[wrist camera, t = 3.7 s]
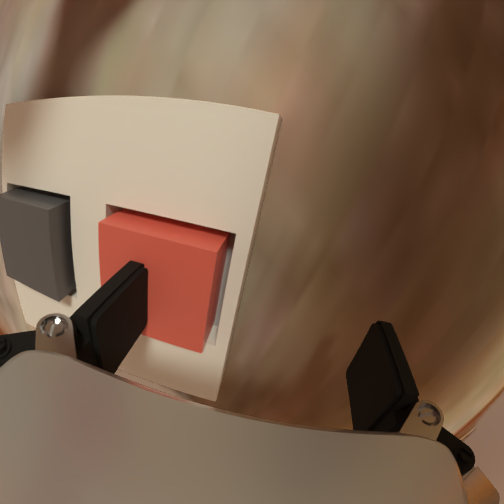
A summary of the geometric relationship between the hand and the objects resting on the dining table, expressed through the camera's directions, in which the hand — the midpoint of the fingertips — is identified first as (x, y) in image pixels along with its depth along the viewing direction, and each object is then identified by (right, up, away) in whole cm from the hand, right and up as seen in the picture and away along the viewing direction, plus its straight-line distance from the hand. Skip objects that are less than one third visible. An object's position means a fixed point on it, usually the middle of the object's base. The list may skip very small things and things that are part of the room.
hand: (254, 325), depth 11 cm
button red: (-4, +2, +2) cm, 5 cm away
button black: (-12, +4, +3) cm, 13 cm away
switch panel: (-8, +4, +4) cm, 9 cm away
